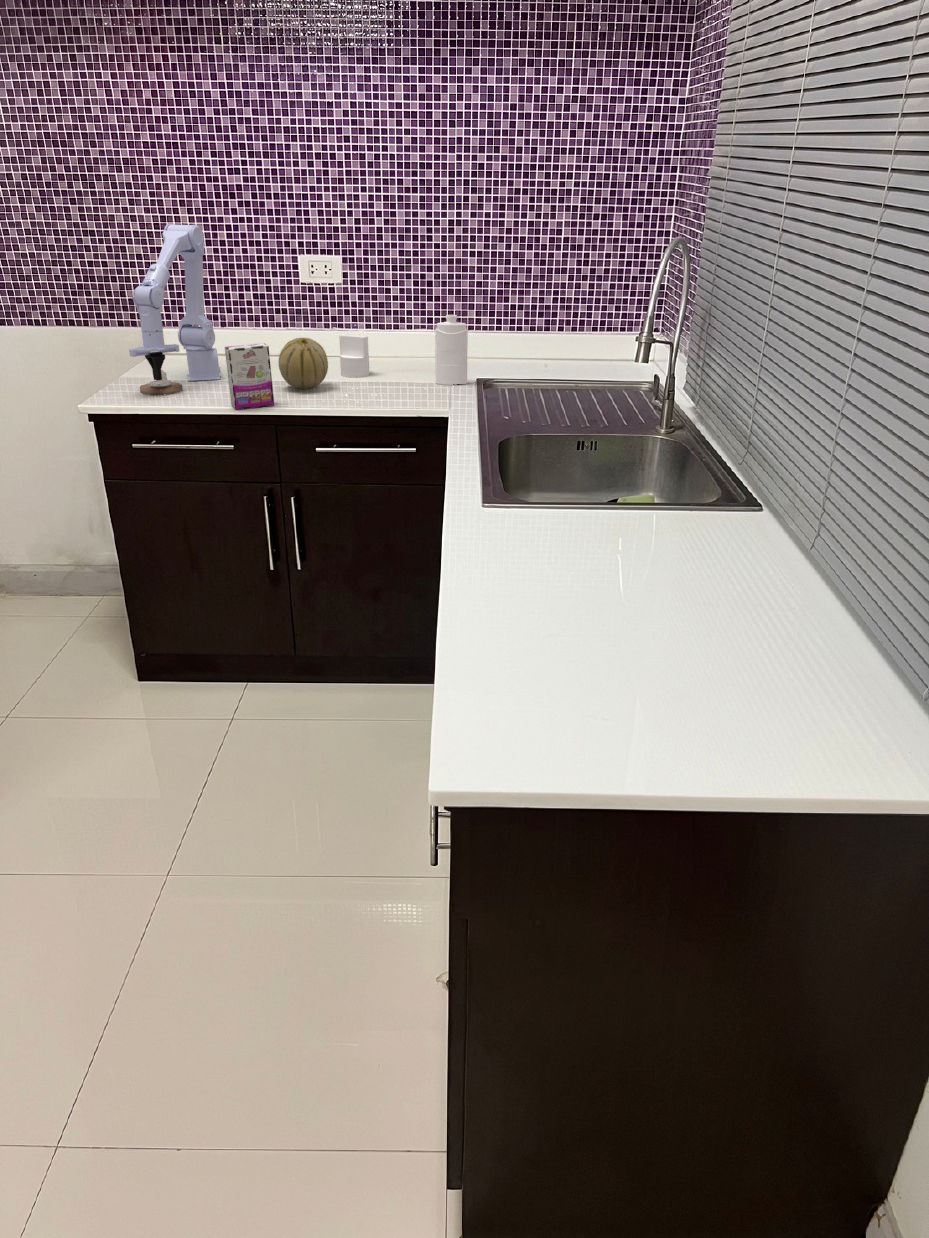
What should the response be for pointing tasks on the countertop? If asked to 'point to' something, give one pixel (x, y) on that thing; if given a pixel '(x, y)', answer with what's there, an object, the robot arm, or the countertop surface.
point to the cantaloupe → (303, 363)
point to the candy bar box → (249, 376)
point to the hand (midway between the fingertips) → (158, 379)
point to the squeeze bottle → (451, 352)
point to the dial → (161, 382)
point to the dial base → (161, 389)
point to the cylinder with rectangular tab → (354, 356)
